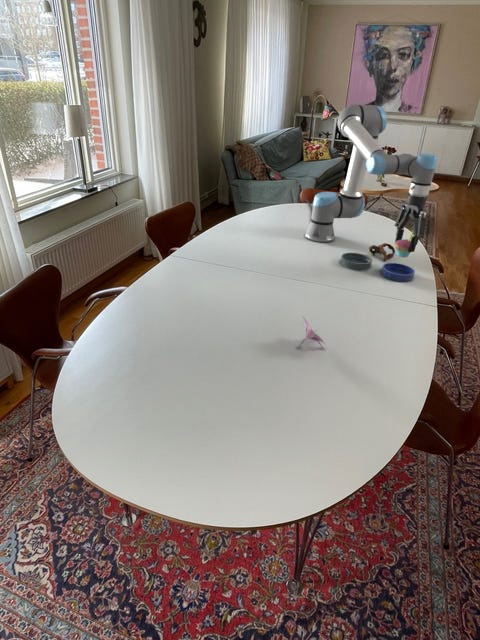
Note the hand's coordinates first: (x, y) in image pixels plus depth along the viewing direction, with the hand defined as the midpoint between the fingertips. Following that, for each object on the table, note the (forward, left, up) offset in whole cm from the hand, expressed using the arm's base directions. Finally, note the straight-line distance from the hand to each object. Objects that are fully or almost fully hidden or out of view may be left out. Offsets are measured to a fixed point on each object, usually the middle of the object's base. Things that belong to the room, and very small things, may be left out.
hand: (404, 247), depth 186 cm
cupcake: (0, 0, -4) cm, 4 cm away
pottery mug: (-20, +5, -13) cm, 25 cm away
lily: (+42, -65, -13) cm, 78 cm away
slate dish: (-15, -12, -13) cm, 23 cm away
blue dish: (0, 0, -13) cm, 13 cm away
